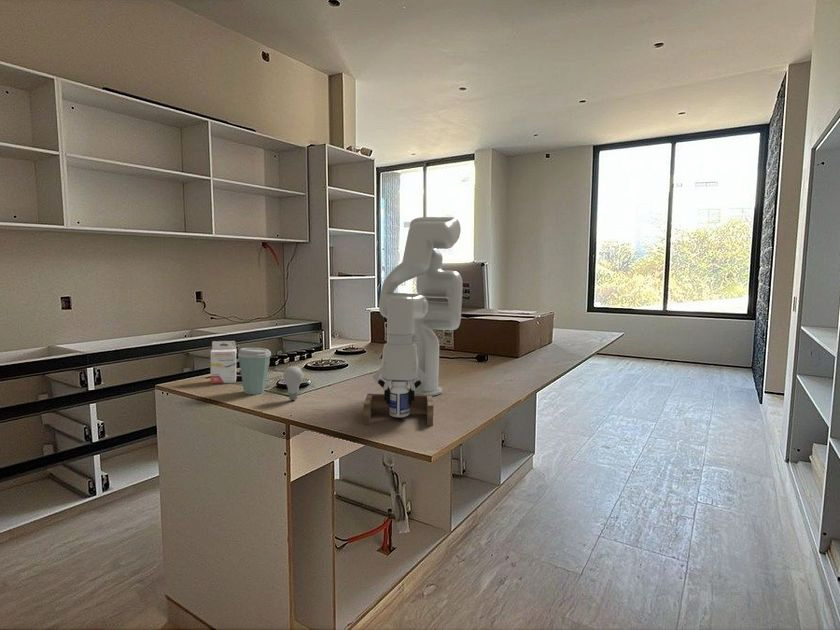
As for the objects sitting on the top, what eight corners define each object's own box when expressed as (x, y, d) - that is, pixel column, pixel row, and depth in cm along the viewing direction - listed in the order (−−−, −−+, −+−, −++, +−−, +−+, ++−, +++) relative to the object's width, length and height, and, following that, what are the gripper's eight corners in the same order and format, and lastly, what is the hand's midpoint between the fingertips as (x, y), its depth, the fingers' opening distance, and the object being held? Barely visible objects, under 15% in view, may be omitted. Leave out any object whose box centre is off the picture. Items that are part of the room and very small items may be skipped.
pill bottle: (409, 411, 138) (409, 378, 137) (409, 417, 132) (410, 382, 131) (389, 411, 138) (389, 377, 137) (388, 417, 132) (389, 382, 131)
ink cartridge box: (210, 384, 170) (209, 343, 169) (211, 380, 175) (210, 341, 173) (236, 382, 173) (235, 342, 171) (236, 379, 177) (236, 340, 176)
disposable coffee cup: (256, 386, 167) (256, 344, 166) (278, 391, 162) (278, 347, 161) (231, 393, 158) (230, 348, 157) (253, 398, 153) (253, 352, 151)
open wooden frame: (367, 411, 141) (367, 393, 141) (431, 412, 142) (431, 394, 141) (363, 424, 130) (363, 404, 129) (432, 425, 130) (433, 405, 130)
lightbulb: (295, 404, 147) (295, 369, 146) (279, 401, 150) (279, 367, 148) (307, 399, 153) (307, 365, 152) (290, 397, 155) (290, 363, 154)
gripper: (430, 338, 137) (429, 399, 139) (370, 337, 136) (369, 398, 138) (431, 342, 129) (430, 407, 131) (368, 341, 129) (367, 406, 131)
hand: (399, 402), depth 135 cm, fingers closed on pill bottle, 5 cm apart
